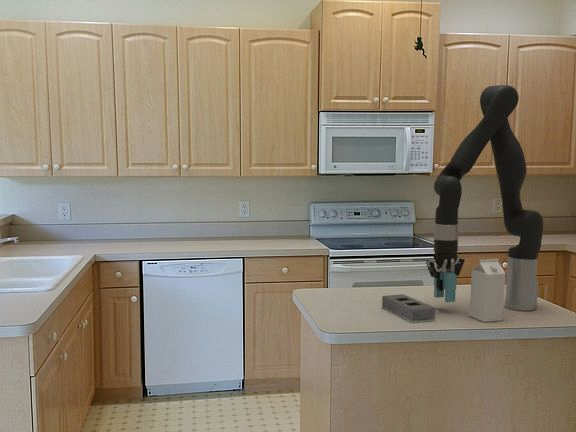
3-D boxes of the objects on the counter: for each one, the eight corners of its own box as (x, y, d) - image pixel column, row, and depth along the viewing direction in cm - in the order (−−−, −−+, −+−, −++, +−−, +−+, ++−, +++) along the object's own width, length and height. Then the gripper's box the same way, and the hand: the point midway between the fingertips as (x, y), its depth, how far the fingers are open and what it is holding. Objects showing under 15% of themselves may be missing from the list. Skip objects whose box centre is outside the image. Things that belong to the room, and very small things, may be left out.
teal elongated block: (433, 296, 190) (434, 270, 189) (441, 295, 191) (441, 269, 190) (447, 302, 183) (448, 275, 182) (455, 301, 184) (456, 274, 183)
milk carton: (469, 316, 182) (472, 257, 179) (487, 314, 184) (490, 256, 182) (484, 322, 175) (487, 261, 173) (502, 320, 177) (506, 260, 175)
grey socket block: (382, 307, 190) (382, 295, 190) (402, 305, 193) (403, 294, 192) (412, 322, 173) (412, 310, 173) (434, 320, 176) (435, 307, 176)
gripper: (457, 234, 190) (455, 285, 193) (420, 237, 186) (419, 289, 188) (471, 238, 183) (469, 290, 186) (434, 240, 179) (432, 294, 181)
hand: (444, 289), depth 187 cm, fingers closed on teal elongated block, 3 cm apart
